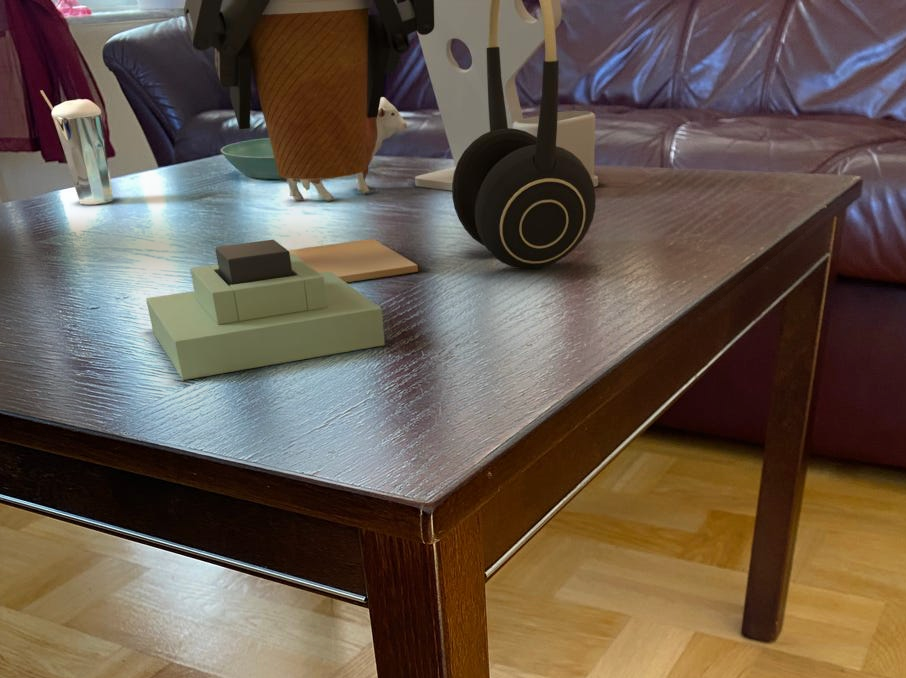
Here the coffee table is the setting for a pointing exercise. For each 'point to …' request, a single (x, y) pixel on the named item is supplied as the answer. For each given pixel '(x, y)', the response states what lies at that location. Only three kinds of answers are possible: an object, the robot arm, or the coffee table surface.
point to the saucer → (253, 158)
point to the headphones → (523, 173)
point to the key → (253, 262)
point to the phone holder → (466, 91)
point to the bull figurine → (375, 134)
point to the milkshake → (84, 148)
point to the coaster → (356, 260)
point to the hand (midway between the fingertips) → (304, 106)
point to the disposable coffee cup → (313, 85)
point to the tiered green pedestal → (262, 321)
